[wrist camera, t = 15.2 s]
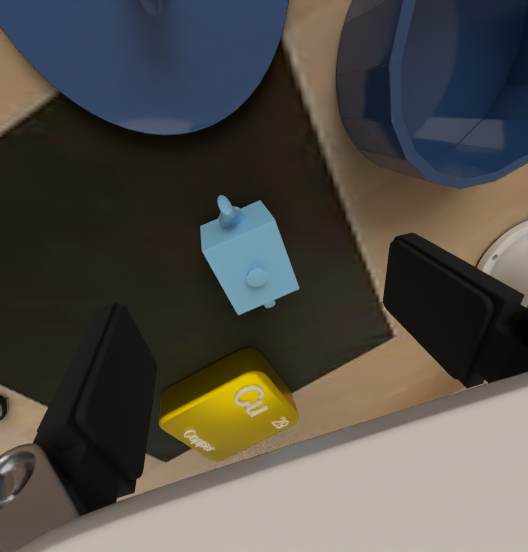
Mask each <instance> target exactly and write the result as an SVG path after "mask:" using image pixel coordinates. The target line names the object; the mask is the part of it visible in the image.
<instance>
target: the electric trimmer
mask: <svg viewBox="0 0 528 552" xmlns="http://www.w3.org/2000/svg"><path fill="white" fill-rule="evenodd" d="M7 400H8V398H7V399H5V398H1V396H0V420H1V419H3V418H4V417H5V415H6V414H7V411H8V407H7V406H8V402H7Z"/></svg>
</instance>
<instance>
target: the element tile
mask: <svg viewBox="0 0 528 552" xmlns="http://www.w3.org/2000/svg"><path fill="white" fill-rule="evenodd" d="M298 419H299V414H298V411H297V408H296V405H295V402H294V399H293V396H292V394H291V391H290V390H289V389H288V387H287V386H286V385H285V384H284V382H283V381H282V380H281V378H280V377H279V376H278V375H277V373H276V372H275V371H274V369H273V368H272V367H271V366H270V364H269V363H268V362H267V361H266V359H265V358H264V357H263V355H262V354H261V353H260V352H259V351H258V350H256V349H254V348H244V349H241V350H238V351H236V352H235V353H233V354H231V355H229V356H227V357H225V358H223V359H221V360H219V361H218V362H216V363H214V364H212V365H210V366H208V367H206V368H204V369H203V370H201V371H199V372H197V373H195V374H193V375H191V376H189V377H187V378H186V379H184V380H182V381H180V382H178V383H176V384H174V385H172V386H171V387H169V388H167V389H166V390H165V391H164V392H163V394H162V397H161V406H160V415H159V425H160V427H161V428H162V429H163V430H164V431H166V432H167V433H169V434H171V435H172V436H174V437H175V438H177V439H178V440H180V441H182V442H183V443H185V444H186V445H188V446H190V447H191V448H193V449H194V450H196V451H197V452H199V453H201V454H202V455H204V456H205V457H207V458H208V459H211V460H214V461H222V460H224V459H226V458H229V457H231V456H233V455H235V454H237V453H239V452H241V451H243V450H244V449H246V448H248V447H250V446H252V445H254V444H256V443H258V442H260V441H262V440H264V439H266V438H268V437H270V436H272V435H274V434H276V433H278V432H280V431H282V430H284V429H286V428H288V427H290V426H292V425H294V424H295V423H296V422H297V421H298Z"/></svg>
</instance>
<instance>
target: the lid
mask: <svg viewBox="0 0 528 552" xmlns="http://www.w3.org/2000/svg"><path fill="white" fill-rule="evenodd" d="M288 3H289V0H0V27H1V29H2V30H3V31H4V33H5V34H6V35H7V37H8V38H9V39H10V41H11V42H12V43H13V45H14V46H15V47H16V48H17V50H18V51H19V52H20V53H21V54H22V55H23V56H24V57H25V58H26V60H27V61H28V62H29V63H30V64H31V65H32V66H33V67H34V69H35V70H37V71H38V72H39V73H40V74H41V75H42V76H43V77H44V78H45V79H46V80H47V81H48V82H49V83H50V84H52V85H53V86H54V87H55V88H56V89H57V90H59V91H60V92H61V93H63V94H64V95H65V96H66V97H68V98H69V99H70V100H72V101H73V102H74V103H76V104H78V105H79V106H81V107H82V108H84V109H85V110H87V111H89V112H90V113H92V114H94V115H96V116H98V117H100V118H102V119H104V120H106V121H108V122H110V123H112V124H115V125H118V126H121V127H123V128H126V129H129V130H133V131H137V132H142V133H146V134H156V135H181V134H186V133H191V132H196V131H199V130H202V129H204V128H207V127H210V126H212V125H214V124H216V123H218V122H220V121H221V120H223V119H225V118H226V117H228V116H229V115H230V114H232V113H233V112H234V111H236V110H237V109H238V108H239V107H240V106H241V105H242V104H243V103H244V102H245V101H246V100H247V99H248V98H249V97H250V96H251V94H252V93H253V92H254V91H255V89H256V88H257V87H258V85H259V84H260V82H261V81H262V79H263V77H264V75H265V74H266V72H267V70H268V69H269V67H270V64H271V62H272V60H273V57H274V55H275V53H276V51H277V48H278V45H279V42H280V38H281V35H282V32H283V29H284V24H285V19H286V14H287V9H288Z"/></svg>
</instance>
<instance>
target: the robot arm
mask: <svg viewBox="0 0 528 552" xmlns="http://www.w3.org/2000/svg"><path fill="white" fill-rule="evenodd" d="M383 303H384V306H385V308H386V309H387V310H388V311H389V312H390V314H391V315H392V316H393V317H394V318H395V319H396V320H397V321H398V322H399V323H400V324H401V325H402V326H403V327H404V328H405V329H406V330H407V331H408V332H409V333H410V334H411V335H412V336H413V337H414V338H415V339H416V340H417V341H418V343H419V344H420V345H421V346H422V347H423V348H424V349H425V350H426V351H427V352H428V353H429V354H430V355H431V356H432V357H433V358H434V359H435V360H436V361H437V362H438V363H439V364H440V365H441V366H442V367H443V368H444V369H445V370H446V372H447V373H448V374H449V375H450V376H452V377H453V378H454V379H458V380H459V381H460V382H461V383H462V384H463V385H464V386H465V387H466V388H470V387H473V386H476V385H479V384H482V383H483V382H484V380H486V381H487V382H488V384H485V385H482V386H479V387H475V388H472V389H469V390H466V391H462V392H460V393H457V394H453V395H449V396H446V397H443V398H440V399H436V400H433V401H430V402H427V403H423V404H420V405H417V406H414V407H410V408H407V409H404V410H401V411H398V412H394V413H391V414H388V415H385V416H382V417H378V418H375V419H372V420H369V421H366V422H362V423H359V424H356V425H353V426H350V427H346V428H343V429H340V430H337V431H334V432H331V433H327V434H324V435H321V436H318V437H315V438H312V439H308V440H305V441H302V442H299V443H296V444H292V445H289V446H286V447H283V448H280V449H277V450H274V451H271V452H267V453H264V454H261V455H258V456H255V457H252V458H249V459H246V460H242V461H239V462H236V463H233V464H230V465H227V466H224V467H221V468H217V469H214V470H211V471H208V472H205V473H202V474H199V475H196V476H192V477H189V478H186V479H183V480H180V481H177V482H174V483H172V484H169V485H166V486H163V487H160V488H157V489H154V490H151V491H148V492H145V493H142V494H139V495H136V496H133V497H130V498H127V499H124V500H121V501H118V502H116V500H117V498H119V497H122V496H125V495H128V494H132V493H134V492H135V486H136V479H137V478H140V477H141V475H142V473H143V468H144V461H145V453H146V446H147V439H148V432H149V425H150V417H151V410H152V403H153V396H154V389H155V381H156V374H157V364H156V361H155V359H154V357H153V355H152V353H151V351H150V350H149V348H148V346H147V344H146V342H145V340H144V338H143V337H142V335H141V333H140V331H139V329H138V327H137V325H136V324H135V322H134V320H133V318H132V316H131V314H130V312H129V311H128V309H127V307H125V306H120V305H119V304H117V303H115V304H111V305H107V306H102V307H99V308H97V309H96V310H95V312H94V315H93V317H92V319H91V321H90V323H89V325H88V327H87V329H86V331H85V333H84V335H83V337H82V339H81V341H80V343H79V345H78V347H77V349H76V352H75V354H74V356H73V358H72V360H71V362H70V364H69V366H68V368H67V370H66V372H65V374H64V376H63V378H62V380H61V382H60V384H59V386H58V389H57V391H56V393H55V395H54V397H53V399H52V401H51V403H50V405H49V407H48V409H47V411H46V413H45V415H44V417H43V419H42V421H41V424H40V426H39V428H38V430H37V432H38V433H37V435H36V437H35V439H34V442H33V444H30V443H29V444H24V445H20V446H17V447H15V448H13V449H11V450H8V451H7V452H5V453H4V454H2V455H1V456H0V552H528V221H525V222H523V223H521V224H518V225H516V226H515V227H513V228H512V229H510V230H508V231H507V232H506V233H504V234H503V235H502V236H501V237H499V238H498V239H497V240H496V241H495V242H494V243H493V244H492V245H491V246H490V248H489V249H488V250H487V251H486V252H485V254H484V255H483V257H482V258H481V260H480V262H479V264H478V266H477V268H476V267H474V266H472V265H470V264H469V263H467V262H465V261H463V260H462V259H460V258H458V257H456V256H454V255H453V254H451V253H449V252H447V251H445V250H444V249H442V248H440V247H438V246H437V245H435V244H433V243H431V242H429V241H428V240H426V239H424V238H422V237H420V236H419V235H417V234H415V233H408V234H404V235H400V236H397V237H395V238H394V240H393V241H392V242H391V244H390V248H389V256H388V264H387V272H386V280H385V288H384V296H383Z"/></svg>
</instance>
